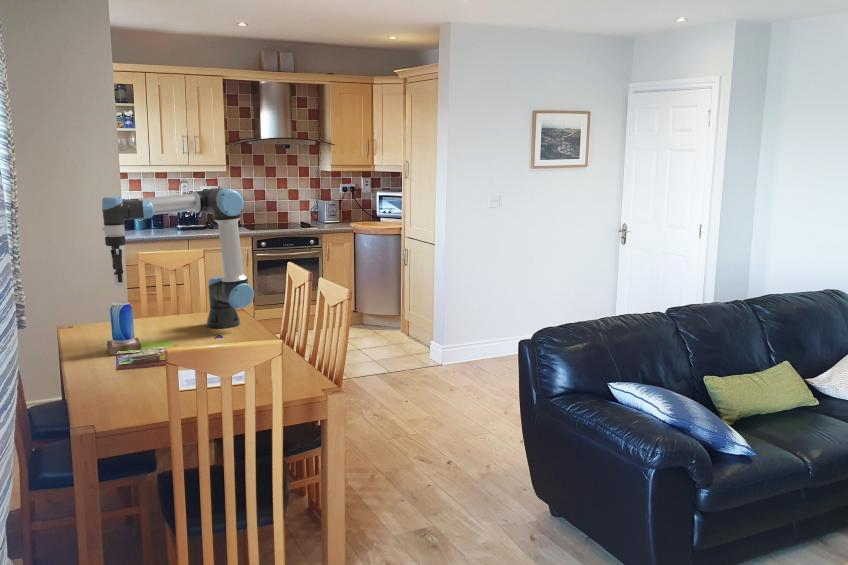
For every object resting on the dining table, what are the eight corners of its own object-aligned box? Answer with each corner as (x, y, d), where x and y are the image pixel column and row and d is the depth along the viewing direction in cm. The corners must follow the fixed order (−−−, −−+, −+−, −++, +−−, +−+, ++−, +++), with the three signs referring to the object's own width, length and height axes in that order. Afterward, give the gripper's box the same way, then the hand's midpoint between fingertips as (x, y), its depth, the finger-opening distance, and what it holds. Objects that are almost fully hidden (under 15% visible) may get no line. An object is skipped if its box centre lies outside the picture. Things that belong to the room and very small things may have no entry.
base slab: (138, 345, 306) (137, 336, 305) (141, 352, 295) (140, 342, 295) (107, 349, 301) (106, 339, 300) (109, 356, 290) (108, 346, 289)
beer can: (126, 344, 293) (123, 305, 290) (108, 343, 294) (105, 304, 291) (138, 339, 301) (136, 301, 298) (120, 338, 302) (117, 300, 300)
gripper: (102, 233, 299) (107, 283, 303) (106, 239, 277) (111, 293, 281) (122, 232, 303) (126, 282, 306) (127, 237, 281) (132, 291, 284)
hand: (119, 287), depth 294 cm, fingers open, 13 cm apart
